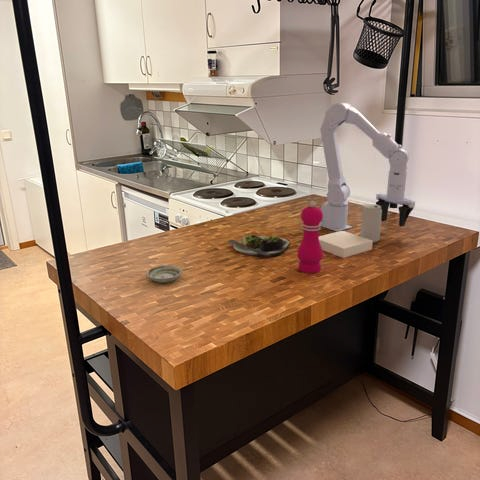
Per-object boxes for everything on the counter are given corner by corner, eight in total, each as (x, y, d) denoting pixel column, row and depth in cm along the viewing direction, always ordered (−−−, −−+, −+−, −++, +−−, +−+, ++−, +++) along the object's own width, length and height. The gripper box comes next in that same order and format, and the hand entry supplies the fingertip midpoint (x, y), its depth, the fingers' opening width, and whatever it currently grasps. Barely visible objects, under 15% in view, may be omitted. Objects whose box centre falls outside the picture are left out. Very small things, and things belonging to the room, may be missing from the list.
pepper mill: (292, 266, 138) (294, 199, 131) (314, 263, 140) (317, 197, 134) (304, 275, 131) (307, 205, 125) (327, 271, 134) (330, 202, 127)
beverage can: (379, 244, 156) (383, 208, 152) (359, 242, 157) (362, 207, 153) (378, 238, 162) (381, 203, 158) (359, 236, 163) (361, 203, 159)
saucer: (189, 278, 130) (189, 270, 129) (162, 290, 123) (161, 281, 122) (166, 270, 136) (166, 262, 135) (139, 280, 129) (138, 272, 128)
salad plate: (217, 253, 149) (217, 239, 148) (240, 237, 165) (240, 224, 163) (275, 262, 142) (275, 247, 140) (293, 244, 157) (294, 231, 156)
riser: (313, 246, 154) (314, 237, 153) (341, 239, 161) (342, 230, 160) (343, 257, 144) (344, 248, 143) (371, 249, 151) (372, 240, 150)
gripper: (422, 187, 157) (417, 226, 161) (386, 180, 168) (383, 217, 173) (409, 189, 153) (404, 229, 157) (373, 182, 164) (370, 220, 169)
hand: (392, 223), depth 165 cm, fingers open, 7 cm apart
